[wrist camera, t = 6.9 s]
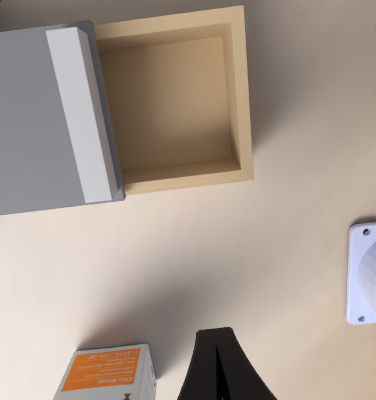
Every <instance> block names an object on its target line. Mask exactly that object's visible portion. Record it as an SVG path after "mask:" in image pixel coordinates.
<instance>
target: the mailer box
mask: <svg viewBox="0 0 376 400" xmlns="http://www.w3.org/2000/svg"><path fill="white" fill-rule="evenodd" d="M93 26H94V31H95V36H96V41H97V47H98V52H99V57H100V62H101V68H102V73H103V78H104V83H105V89H106V94H107V99H108V104H109V110H110V115H111V120H112V125H113V131H114V136H115V141H116V147H117V152H118V157H119V162H120V168H121V173H122V178H123V183H124V189H125V194H126V195H132V194H140V193H149V192H157V191H165V190H173V189H182V188H190V187H198V186H207V185H215V184H223V183H232V182H240V181H248V180H254V175H253V158H252V140H251V123H250V106H249V89H248V72H247V54H246V37H245V20H244V5H240V6H233V7H225V8H218V9H210V10H203V11H195V12H188V13H180V14H173V15H165V16H158V17H150V18H143V19H135V20H128V21H120V22H113V23H105V24H98V25H93Z"/></svg>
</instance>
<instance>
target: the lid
mask: <svg viewBox="0 0 376 400" xmlns="http://www.w3.org/2000/svg"><path fill="white" fill-rule="evenodd" d="M125 198H126V194H125V189H124V183H123V178H122V173H121V168H120V162H119V157H118V152H117V147H116V141H115V136H114V131H113V125H112V120H111V115H110V110H109V104H108V99H107V94H106V89H105V83H104V78H103V73H102V68H101V62H100V57H99V52H98V47H97V41H96V36H95V31H94V26H93V23H92V22H91V21H90V20H87V21H79V22H72V23H64V24H57V25H49V26H42V27H34V28H27V29H19V30H12V31H4V32H0V215H6V214H14V213H23V212H31V211H39V210H48V209H56V208H64V207H73V206H81V205H89V204H98V203H106V202H115V201H123V200H124V199H125Z"/></svg>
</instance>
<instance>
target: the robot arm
mask: <svg viewBox="0 0 376 400" xmlns="http://www.w3.org/2000/svg"><path fill="white" fill-rule="evenodd" d="M365 229H368V230H367V232H366V233H363V231H364V230H365ZM360 316H362V317H361V318H359V317H360ZM346 320H347V321H348V322H349V324H351V325H357V324H366V323H375V322H376V222H372V223H363V224H356V225H354V226H352V227H351V228H350V231H349V251H348V275H347V300H346ZM222 398H223V400H277V399H276V398H275V396H274V395H273V394H272V393H271V391H270V390H269V389H268V387H267V386H266V385H265V383H264V382H263V381H262V379H261V378H260V376H259V375H258V374H257V372H256V371H255V369H254V368H253V366H252V365H251V363H250V361H249V360H248V358H247V357H246V355H245V353H244V352H243V350H242V348H241V346H240V344H239V343H238V341H237V339H236V336H235V334H234V332H233V329H232V328H230V327H224V328H215V329H206V330H199V331H198V332H197V333H196V340H195V346H194V351H193V355H192V359H191V362H190V365H189V368H188V372H187V375H186V378H185V381H184V383H183V386H182V388H181V391H180V394H179V396H178V399H177V400H222Z"/></svg>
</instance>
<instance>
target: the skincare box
mask: <svg viewBox="0 0 376 400" xmlns="http://www.w3.org/2000/svg"><path fill="white" fill-rule="evenodd" d="M156 386H157V383H156V378H155V374H154V369H153V364H152V360H151V355H150V350H149V345H148V344H147V343H144V344H139V345H131V346H122V347H114V348H104V349H93V350H82V351H75V352H74V354H73V356H72V358H71V361H70V363H69V365H68V367H67V370H66V372H65V374H64V376H63V378H62V381H61V383H60V385H59V388H58V390H57V392H56V394H55V396H54V399H53V400H155V396H156Z"/></svg>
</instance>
